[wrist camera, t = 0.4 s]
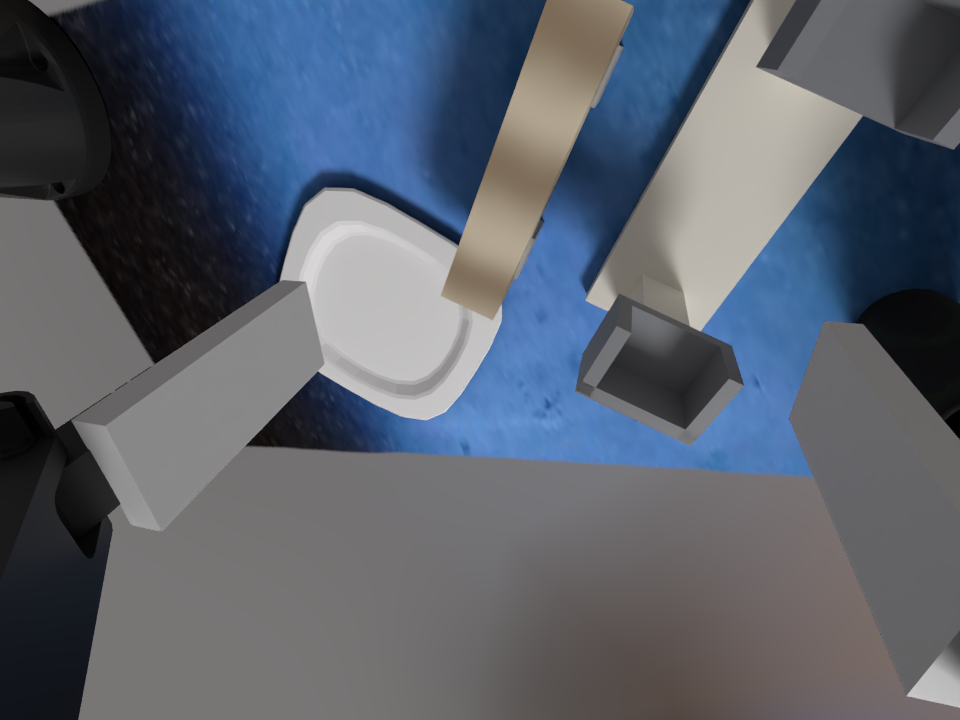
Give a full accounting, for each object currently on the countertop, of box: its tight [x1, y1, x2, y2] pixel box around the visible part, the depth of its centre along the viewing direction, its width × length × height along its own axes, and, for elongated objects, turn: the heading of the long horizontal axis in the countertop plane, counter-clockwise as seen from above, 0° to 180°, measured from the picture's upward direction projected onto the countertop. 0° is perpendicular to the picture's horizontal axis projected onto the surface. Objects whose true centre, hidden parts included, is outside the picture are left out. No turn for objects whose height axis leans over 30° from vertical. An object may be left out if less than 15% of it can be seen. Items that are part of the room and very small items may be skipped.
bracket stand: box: [575, 0, 960, 446], centre depth 26 cm, size 8×21×12 cm, turn 159°
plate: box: [279, 187, 502, 420], centre depth 42 cm, size 18×18×2 cm
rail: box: [441, 0, 634, 320], centre depth 28 cm, size 17×4×4 cm, turn 160°
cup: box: [856, 289, 960, 440], centre depth 27 cm, size 8×8×12 cm
